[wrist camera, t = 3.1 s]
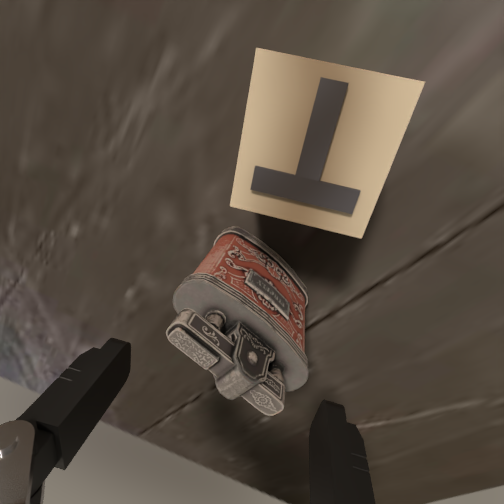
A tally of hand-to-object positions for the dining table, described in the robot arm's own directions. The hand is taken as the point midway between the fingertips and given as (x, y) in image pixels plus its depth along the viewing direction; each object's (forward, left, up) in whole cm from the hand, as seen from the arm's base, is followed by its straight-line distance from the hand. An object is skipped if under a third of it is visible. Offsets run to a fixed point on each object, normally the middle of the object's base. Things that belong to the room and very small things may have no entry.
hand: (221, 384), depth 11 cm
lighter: (0, 0, -10) cm, 10 cm away
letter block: (-1, -9, -10) cm, 14 cm away
